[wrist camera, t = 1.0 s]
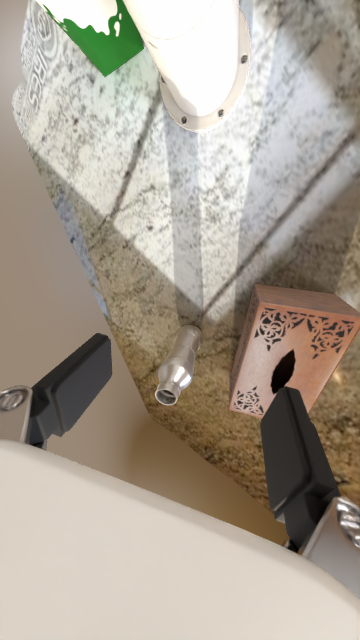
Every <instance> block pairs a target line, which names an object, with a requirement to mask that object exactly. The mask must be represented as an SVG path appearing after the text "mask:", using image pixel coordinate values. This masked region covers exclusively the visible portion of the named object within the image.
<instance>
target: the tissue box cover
mask: <svg viewBox="0 0 360 640" xmlns="http://www.w3.org/2000/svg"><path fill="white" fill-rule="evenodd" d="M359 329H360V313H359V312H358V311H356V310H355V309H354V308H353V307H351V306H350V305H349V304H347V303H346V302H345V301H343V300H342V299H341V298H340V297H338V296H337V295H336V294H330V293H322V292H315V291H308V290H300V289H293V288H286V287H279V286H271V285H264V284H257V283H255V284H254V288H253V291H252V295H251V299H250V303H249V307H248V311H247V314H246V318H245V322H244V326H243V330H242V333H241V337H240V341H239V345H238V349H237V353H236V356H235V360H234V364H233V368H232V372H231V375H230V388H229V410H232V411H236V412H239V413H243V414H247V415H251V416H255V417H258V418H263V416H264V414H265V413H266V411H267V409H268V408H269V406H270V404H271V402H272V401H273V399H274V397H275V396H276V394H277V392H278V390H279V389H280V388H284V387H285V386H287V387H291V388H295V389H298V390H299V391H300V393H301V396H302V399H303V402H304V404H305V407H306V410H307V413H308V414H309V412H310V411H311V409H312V407H313V406H314V404H315V402H316V401H317V399H318V397H319V396H320V394H321V392H322V391H323V389H324V387H325V386H326V384H327V382H328V381H329V379H330V377H331V376H332V374H333V372H334V371H335V369H336V367H337V366H338V364H339V362H340V361H341V359H342V357H343V356H344V354H345V352H346V351H347V349H348V347H349V346H350V344H351V342H352V341H353V339H354V337H355V336H356V334H357V332H358V331H359Z"/></svg>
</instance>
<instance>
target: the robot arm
mask: <svg viewBox="0 0 360 640" xmlns="http://www.w3.org/2000/svg"><path fill="white" fill-rule="evenodd" d="M123 2H124V4H125V6H126V8H127V10H128V12H129V14H130V16H131V17H132V19H133V21H134V23H135V25H136V27H137V29H138V31H139V33H140V35H141V37H142V38H143V40H144V42H145V44H146V46H147V48H148V50H149V52H150V54H151V56H152V58H153V59H154V61H155V63H156V65H157V67H158V69H159V82H160V90H161V94H162V99H163V101H164V104H165V106H166V109H167V111H168V112H169V114H170V116H171V117H172V118H173V120H174V121H175V122H176V123H177V124H178V125H179V126H180V127H181V128H183V129H185V130H187V131H190V132H194V133H203V132H206V131H210V130H212V129H214V128H216V127H217V126H219V125H220V124H221V123H222V122H224V121H225V120H226V119H227V118H228V116H229V115H230V114H231V113H232V112H233V110H234V109H235V107H236V105H237V104H238V102H239V100H240V98H241V96H242V94H243V91H244V88H245V85H246V82H247V79H248V73H249V68H250V59H251V40H250V34H249V28H248V25H247V22H246V19H245V16H244V14H243V12H242V11H241V9H240V7H239V0H123ZM243 61H246V63H244V64H243V63H242V62H243ZM221 113H222V114H223V116H222V117H220V114H221ZM185 120H186V123H185V124H184V121H185ZM111 375H112V359H111V341H110V339H109V338H108V336H106V335H103V334H100V333H96V334H95V335H94V336H93V337H92V338H90V339H89V340H88V341H87V342H85V343H84V344H83V345H82V346H81V347H79V348H78V349H77V350H76V351H75V352H73V353H72V354H71V355H70V356H69V357H68V358H66V359H65V360H64V361H63V362H61V363H60V364H59V365H58V366H57V367H55V368H54V369H53V370H52V371H51V372H50V373H48V374H47V375H46V376H45V377H43V378H42V379H41V380H40V381H39V382H38V383H36V384H35V385H34V386H33V387H32V388H29V387H28V386H22V385H20V386H14V387H10V388H8V389H5V390H3V391H2V392H0V640H360V506H358V505H357V504H356V503H355V502H353V501H351V500H349V499H348V498H345V497H341V495H340V492H339V489H338V487H337V484H336V481H335V479H334V476H333V473H332V471H331V468H330V465H329V463H328V460H327V457H326V454H325V452H324V449H323V446H322V444H321V441H320V438H319V436H318V433H317V430H316V428H315V426H314V424H313V423H312V422H311V421H310V418H309V415H308V413H307V410H306V407H305V404H304V402H303V399H302V396H301V393H300V391H299V390H298V389H295V388H291V387H287V386H285V387H284V388H280V389H279V390H278V392H277V394H276V396H275V397H274V399H273V401H272V402H271V404H270V406H269V408H268V409H267V411H266V413H265V414H264V416H263V418H262V420H261V425H260V427H261V436H262V445H263V453H264V462H265V471H266V480H267V488H268V497H269V505H270V508H271V509H273V510H274V516H275V520H278V521H280V522H283V523H285V524H286V530H287V534H288V537H287V538H286V540H285V541H284V543H283V545H282V546H280V545H278V544H276V543H273V542H271V541H268V540H266V539H264V538H262V537H259V536H257V535H255V534H252V533H250V532H247V531H245V530H243V529H241V528H238V527H236V526H233V525H231V524H228V523H226V522H224V521H221V520H219V519H216V518H214V517H211V516H209V515H206V514H204V513H202V512H199V511H197V510H194V509H192V508H189V507H187V506H184V505H182V504H179V503H177V502H174V501H172V500H170V499H167V498H164V497H162V496H160V495H157V494H155V493H152V492H150V491H147V490H144V489H142V488H139V487H137V486H135V485H132V484H130V483H127V482H124V481H122V480H120V479H117V478H114V477H112V476H110V475H107V474H104V473H102V472H99V471H97V470H94V469H92V468H89V467H87V466H84V465H82V464H79V463H76V462H74V461H72V460H69V459H66V458H64V457H62V456H59V455H56V454H53V453H51V452H48V451H46V446H47V439H48V438H49V437H50V436H51V434H54V435H57V436H59V437H62V435H63V434H64V433H65V432H67V431H69V430H70V429H71V428H72V427H73V425H74V424H75V423H76V422H77V420H78V419H79V418H80V417H81V415H82V414H83V413H84V411H85V410H86V409H87V407H88V406H89V405H90V404H91V402H92V401H93V400H94V398H95V397H96V396H97V394H98V393H99V392H100V391H101V389H102V388H103V387H104V386H105V384H106V383H107V382H108V381H109V379H110V378H111Z"/></svg>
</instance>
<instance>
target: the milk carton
mask: <svg viewBox="0 0 360 640" xmlns="http://www.w3.org/2000/svg"><path fill="white" fill-rule="evenodd" d="M36 1H37V2H38V3H39V4H40V6H41V7H42V8H43V9H44V10H45V11H46V12H47V13H48V14H49V15H50V16H51V17H52V19H53V20H54V21H55V22H56V23H57V24H58V25H59V26H60V27H61V28H62V29H63V30H64V32H65V33H66V34H67V35H68V36H69V37H70V38H71V39H72V40H73V41H74V43H75V44H76V45H77V46H78V47H79V48H80V49H81V50H82V52H83V53H84V54H85V55H86V56H87V57H88V58H89V59H90V61H91V62H92V63H93V64H94V65H95V66H96V67H97V69H98V70H99V71H100V72H101V73H102V74H103V75H104V77H106V76H107V75H109V74H110V73H112V72H113V71H114V70H116V69H117V68H118V67H120V66H121V65H123V64H124V63H125V62H127V61H128V60H129V59H131V58H132V57H133V56H135V55H136V54H138V53H139V52H140V51H142V50H143V49H144V47H143V43H142V39H141V35H140V33H139V31H138V29H137V27H136V25H135V23H134V21H133V19H132V17H131V16H130V14H129V12H128V10H127V8H126V6H125V4H124V2H123V0H36Z"/></svg>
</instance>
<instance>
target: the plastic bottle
mask: <svg viewBox="0 0 360 640" xmlns="http://www.w3.org/2000/svg"><path fill="white" fill-rule="evenodd" d="M202 342H203V335H202V332H201V330H200V329H199V328H197V327H196V326H193V325H185V326H182V327H181V328H180V329H179V330H178V331H177V333H176V335H175V340H174V344H173V347H172V349H171V351H170V352H169V354H168V355H167V357H166V358H165V359H164V361H163V362H162V363H161V365H160V367H159V370H158V377H159V381H160V383H159V385H158V388H157V391H156V393H155V396H156V399H157V400H158V401H159V402H160V403H162V404H165V405H173V404H175V403H176V401H177V399H178V396H179V395H180V392H181V390H183V389H185V388H186V387H187V386H188V385H189V384H190V383H191V381H192V379H193V372H194V362H195V357H196V354H197V352H198V350H199V348H200V347H201V345H202Z"/></svg>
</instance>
